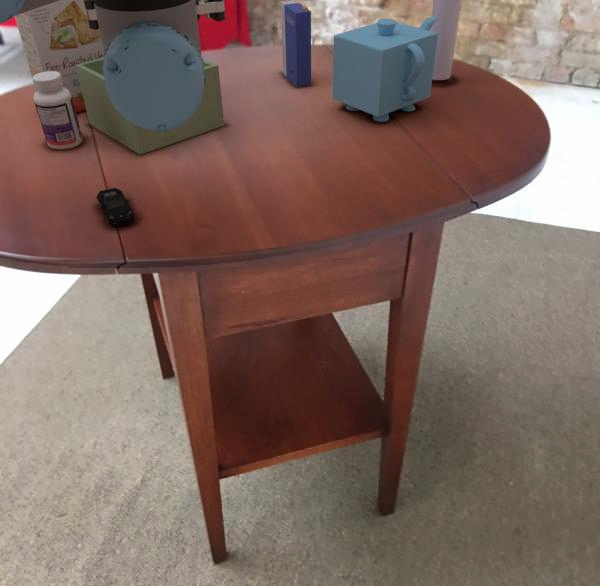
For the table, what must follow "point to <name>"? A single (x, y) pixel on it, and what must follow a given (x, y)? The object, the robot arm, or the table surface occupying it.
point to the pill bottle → (56, 111)
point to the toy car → (115, 207)
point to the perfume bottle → (445, 36)
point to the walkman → (296, 42)
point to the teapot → (384, 66)
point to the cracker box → (60, 42)
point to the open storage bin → (138, 138)
